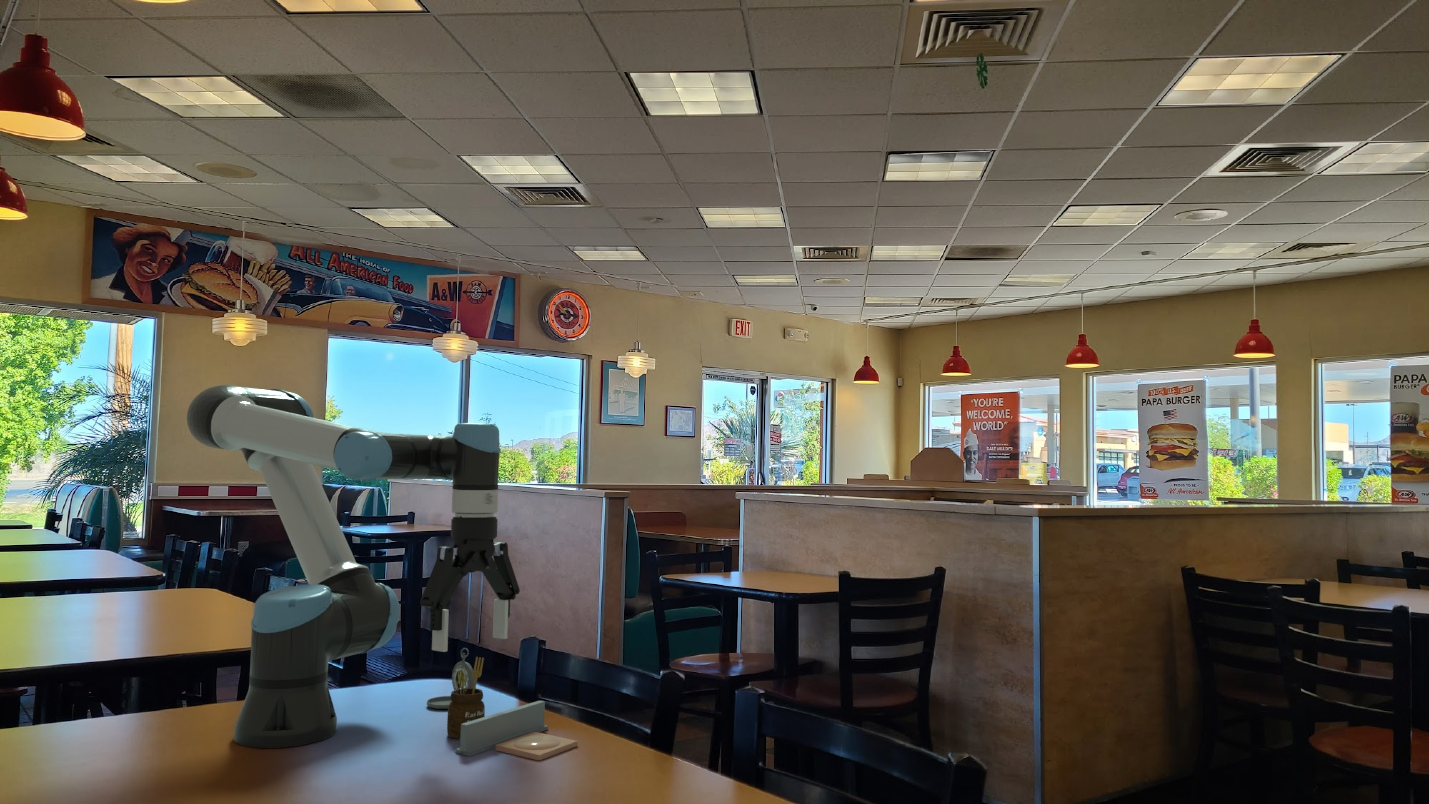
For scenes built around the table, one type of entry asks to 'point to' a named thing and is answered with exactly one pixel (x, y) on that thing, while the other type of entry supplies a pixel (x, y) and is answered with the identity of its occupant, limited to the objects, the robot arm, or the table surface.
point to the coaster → (536, 745)
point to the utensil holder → (465, 704)
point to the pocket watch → (455, 683)
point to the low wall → (501, 728)
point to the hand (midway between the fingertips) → (470, 644)
